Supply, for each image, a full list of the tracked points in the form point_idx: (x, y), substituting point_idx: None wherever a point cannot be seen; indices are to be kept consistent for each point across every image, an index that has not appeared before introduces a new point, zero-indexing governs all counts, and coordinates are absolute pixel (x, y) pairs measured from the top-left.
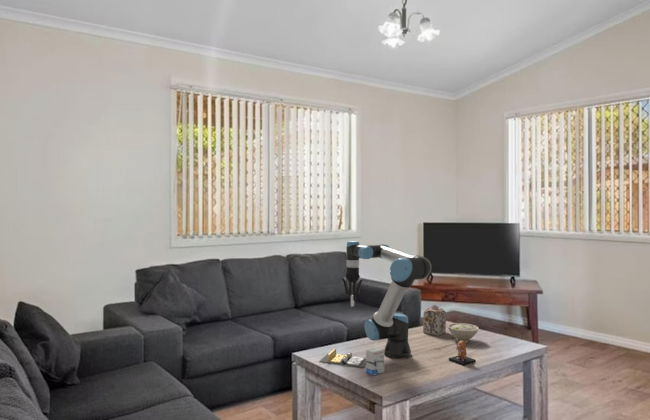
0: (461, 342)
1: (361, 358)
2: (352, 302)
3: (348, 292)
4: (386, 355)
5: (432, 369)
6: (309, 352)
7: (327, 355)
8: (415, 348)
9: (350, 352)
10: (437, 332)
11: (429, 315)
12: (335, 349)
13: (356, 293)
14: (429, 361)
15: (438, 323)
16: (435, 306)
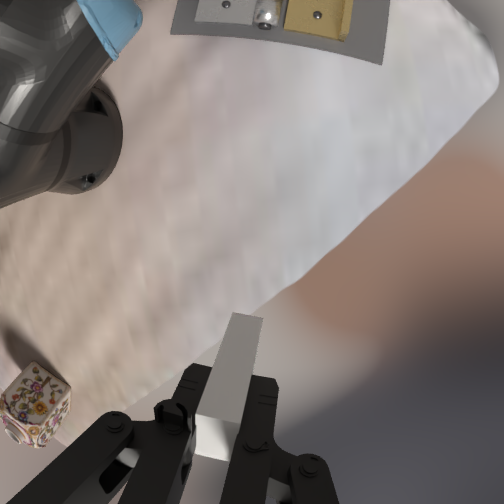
0: None
1: (206, 8)
2: (230, 344)
3: (280, 480)
4: (110, 100)
5: None
6: (462, 93)
7: (377, 40)
8: (42, 231)
9: (260, 18)
10: (33, 368)
11: (26, 411)
12: (342, 21)
13: (123, 431)
14: None
15: (16, 382)
16: (16, 438)
